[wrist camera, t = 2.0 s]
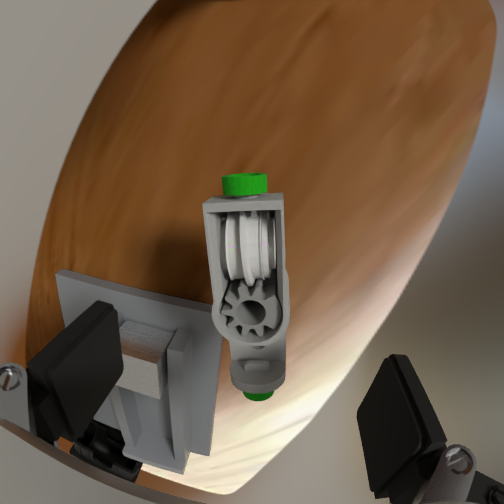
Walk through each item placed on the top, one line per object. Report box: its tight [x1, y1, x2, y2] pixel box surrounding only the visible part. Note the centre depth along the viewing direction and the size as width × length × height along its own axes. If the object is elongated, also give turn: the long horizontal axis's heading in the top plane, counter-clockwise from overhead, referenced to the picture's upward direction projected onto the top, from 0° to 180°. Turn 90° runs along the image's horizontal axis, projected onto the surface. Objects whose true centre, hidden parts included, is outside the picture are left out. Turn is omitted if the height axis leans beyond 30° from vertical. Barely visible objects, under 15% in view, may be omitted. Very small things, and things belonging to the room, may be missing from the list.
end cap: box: [70, 418, 143, 483], centre depth 29 cm, size 10×7×7 cm
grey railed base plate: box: [56, 269, 223, 474], centre depth 24 cm, size 22×16×5 cm
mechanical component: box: [203, 173, 290, 401], centre depth 16 cm, size 3×10×10 cm, turn 3°
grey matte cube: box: [115, 320, 174, 399], centre depth 21 cm, size 4×4×4 cm
